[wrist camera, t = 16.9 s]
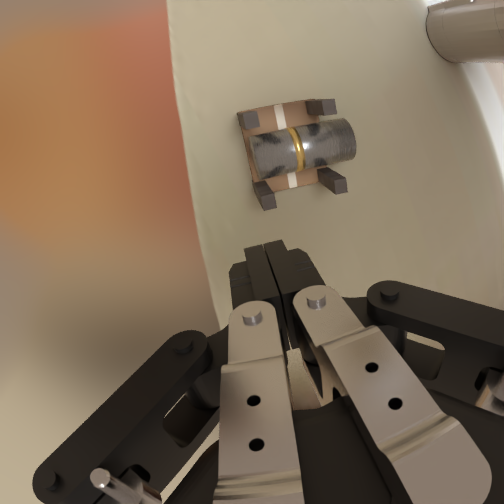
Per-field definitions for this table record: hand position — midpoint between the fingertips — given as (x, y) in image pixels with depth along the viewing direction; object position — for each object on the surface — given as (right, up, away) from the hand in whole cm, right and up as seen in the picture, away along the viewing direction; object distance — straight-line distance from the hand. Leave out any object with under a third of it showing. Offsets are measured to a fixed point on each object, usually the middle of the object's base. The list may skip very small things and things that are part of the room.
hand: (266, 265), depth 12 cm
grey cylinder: (+5, +13, +23) cm, 27 cm away
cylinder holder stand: (+3, +13, +24) cm, 28 cm away
